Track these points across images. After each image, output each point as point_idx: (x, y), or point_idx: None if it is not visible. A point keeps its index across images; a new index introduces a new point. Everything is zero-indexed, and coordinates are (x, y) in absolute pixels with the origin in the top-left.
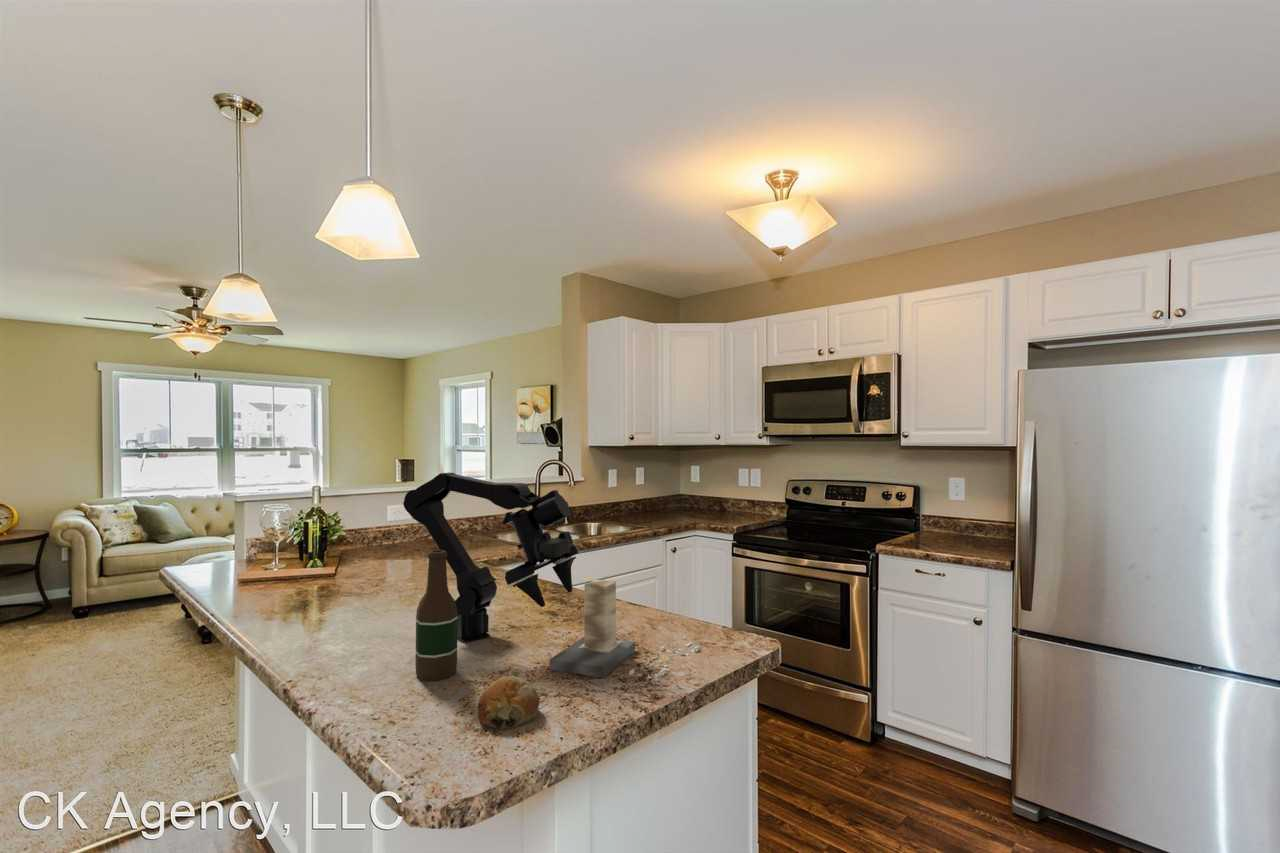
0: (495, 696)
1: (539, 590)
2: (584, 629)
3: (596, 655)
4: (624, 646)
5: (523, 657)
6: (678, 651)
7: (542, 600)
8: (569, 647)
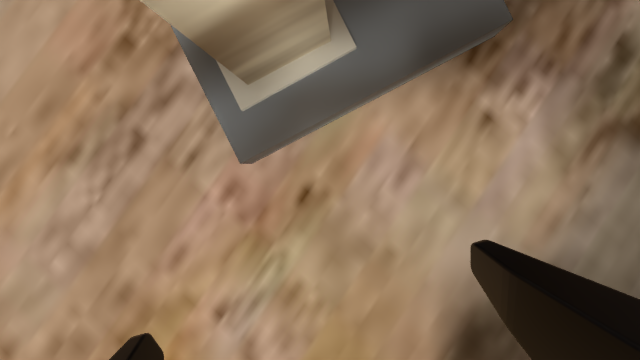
0: None
1: (637, 331)
2: (324, 5)
3: None
4: None
5: (496, 202)
6: None
7: (520, 261)
8: (372, 86)
